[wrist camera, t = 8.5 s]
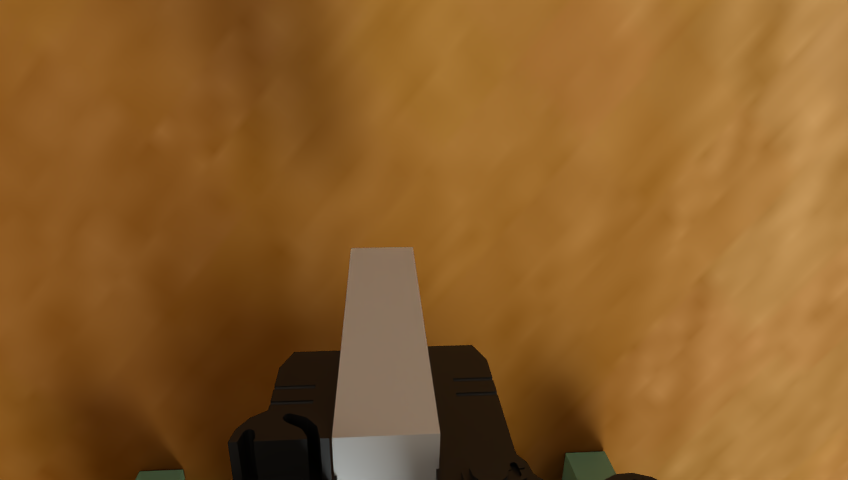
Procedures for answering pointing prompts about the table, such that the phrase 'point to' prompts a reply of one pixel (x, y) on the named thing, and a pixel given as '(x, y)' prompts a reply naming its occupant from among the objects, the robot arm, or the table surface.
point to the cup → (579, 476)
